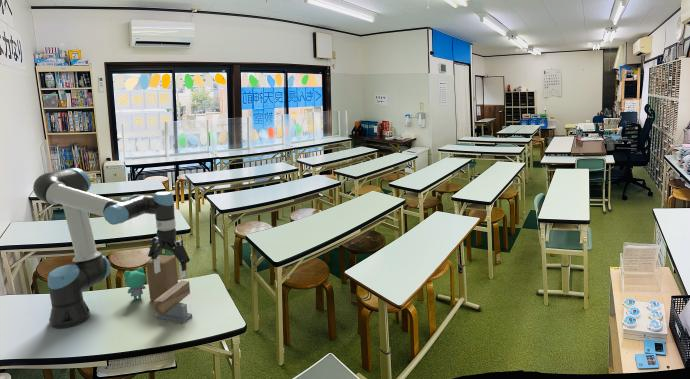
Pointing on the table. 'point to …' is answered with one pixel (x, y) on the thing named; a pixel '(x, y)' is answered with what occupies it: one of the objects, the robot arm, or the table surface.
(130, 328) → the table surface
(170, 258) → the wooden block
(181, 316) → the ridge stand
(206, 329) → the table surface
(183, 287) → the beam
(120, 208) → the robot arm
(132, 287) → the toy
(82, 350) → the table surface
